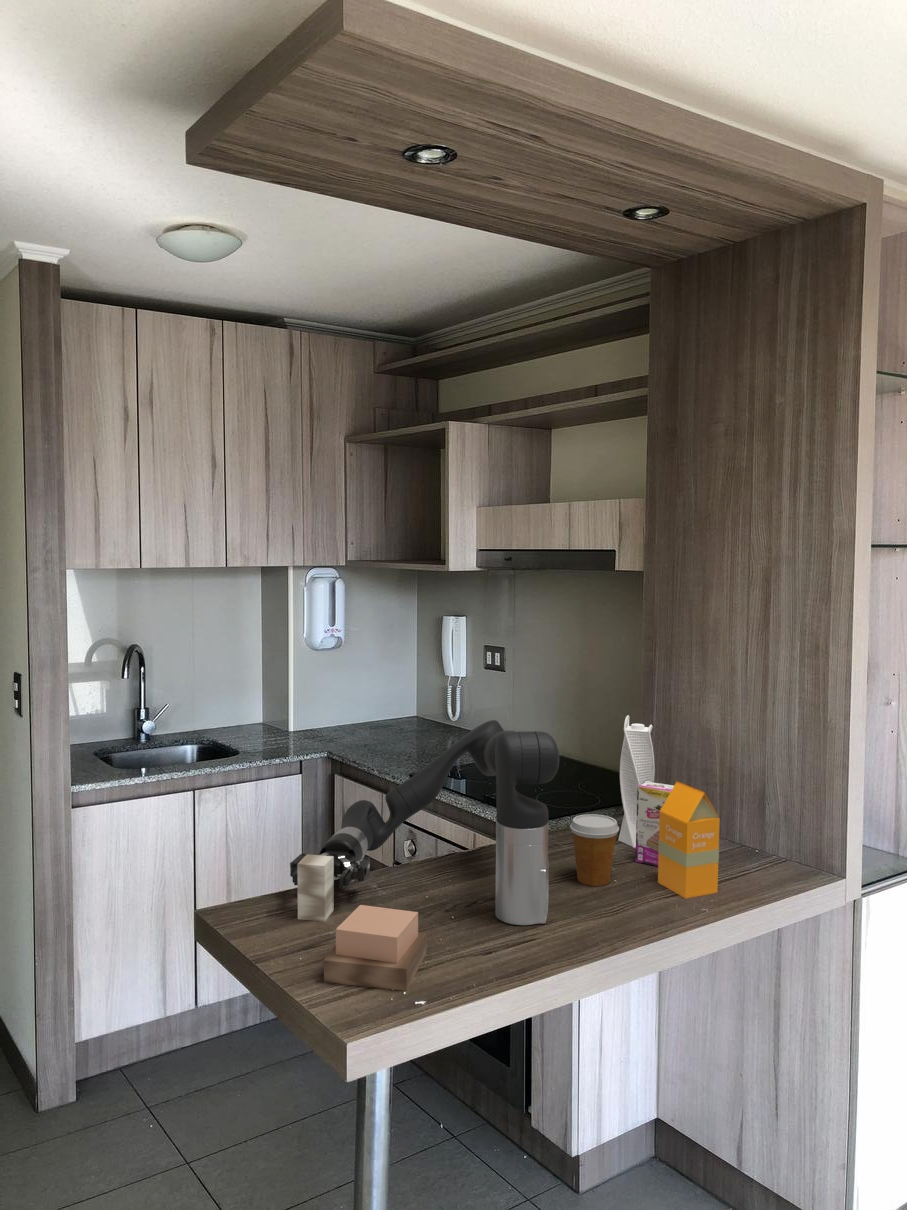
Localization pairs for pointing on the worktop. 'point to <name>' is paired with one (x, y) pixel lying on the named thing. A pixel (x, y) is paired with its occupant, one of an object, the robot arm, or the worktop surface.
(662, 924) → the worktop surface
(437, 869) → the worktop surface
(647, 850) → the candy bar box
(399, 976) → the tower base block
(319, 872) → the cream block
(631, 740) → the skyscraper
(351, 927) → the tower top block
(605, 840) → the disposable coffee cup
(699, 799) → the orange juice
